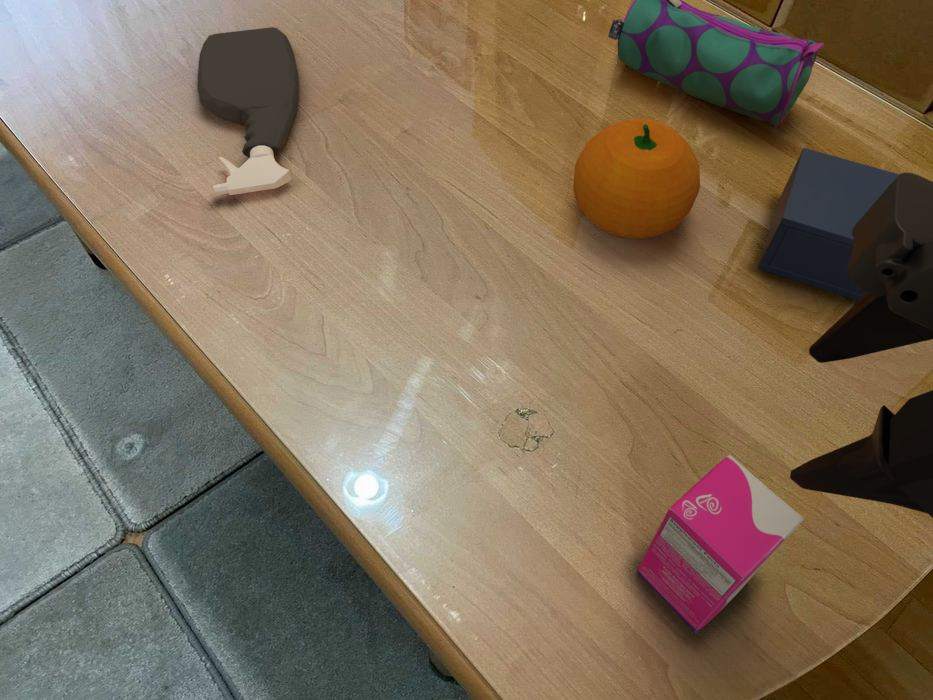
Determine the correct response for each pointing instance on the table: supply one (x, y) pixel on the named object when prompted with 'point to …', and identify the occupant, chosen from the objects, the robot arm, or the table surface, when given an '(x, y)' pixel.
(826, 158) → the lid
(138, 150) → the table surface
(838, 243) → the dark blue square block
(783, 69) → the pencil case
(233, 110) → the spray bottle
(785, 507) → the supplement box
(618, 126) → the fruit
